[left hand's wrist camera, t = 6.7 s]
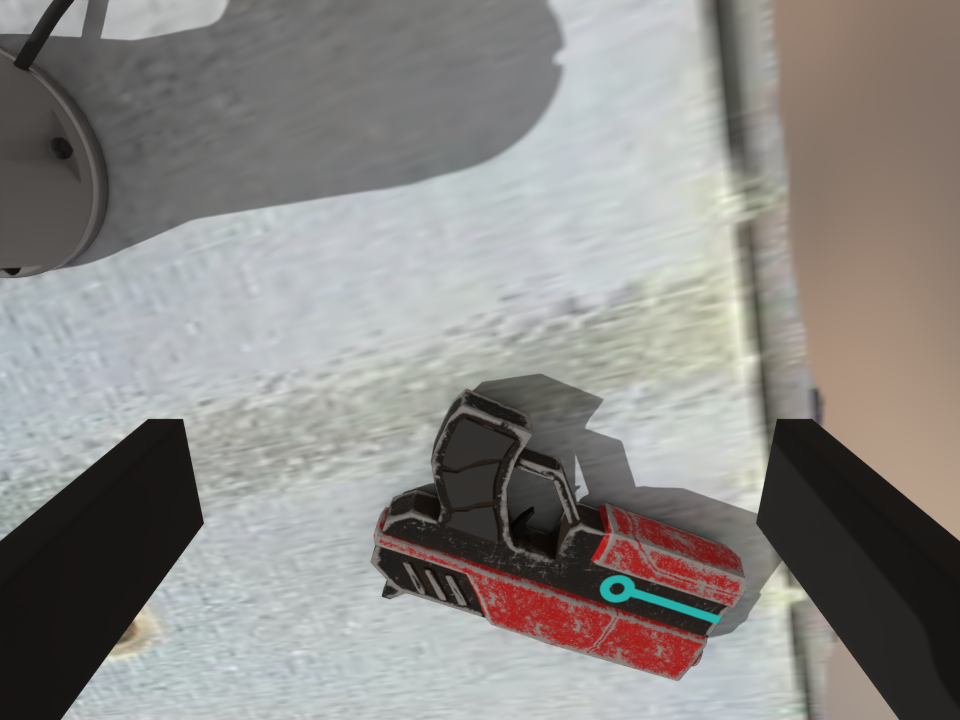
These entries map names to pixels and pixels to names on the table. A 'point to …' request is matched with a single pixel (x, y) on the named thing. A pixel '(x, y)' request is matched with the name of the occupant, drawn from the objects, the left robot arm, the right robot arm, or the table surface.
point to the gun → (551, 554)
